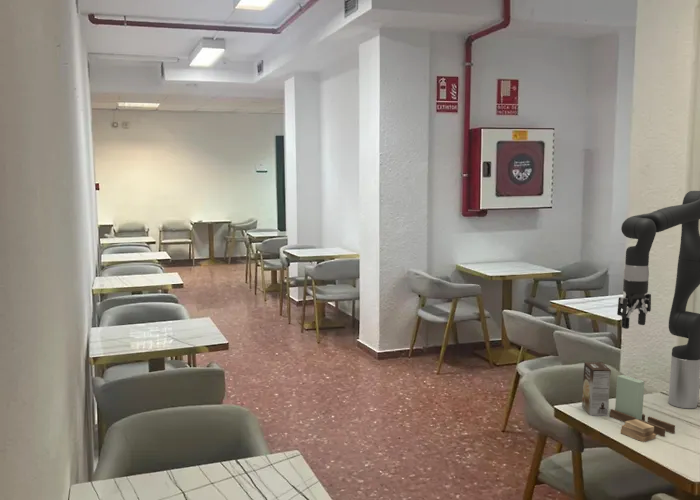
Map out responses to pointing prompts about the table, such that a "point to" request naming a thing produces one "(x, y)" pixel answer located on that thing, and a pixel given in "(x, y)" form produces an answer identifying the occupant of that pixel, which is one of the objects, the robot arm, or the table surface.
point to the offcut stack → (638, 430)
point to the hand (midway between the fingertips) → (633, 326)
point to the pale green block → (629, 396)
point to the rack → (658, 424)
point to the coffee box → (596, 388)
